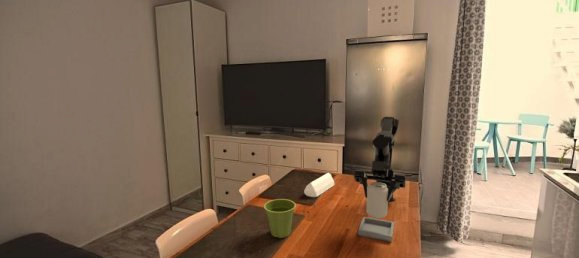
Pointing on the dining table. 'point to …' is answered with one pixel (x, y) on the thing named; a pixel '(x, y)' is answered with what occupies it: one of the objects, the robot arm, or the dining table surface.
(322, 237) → the dining table surface
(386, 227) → the tray
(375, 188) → the can
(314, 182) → the crystal
